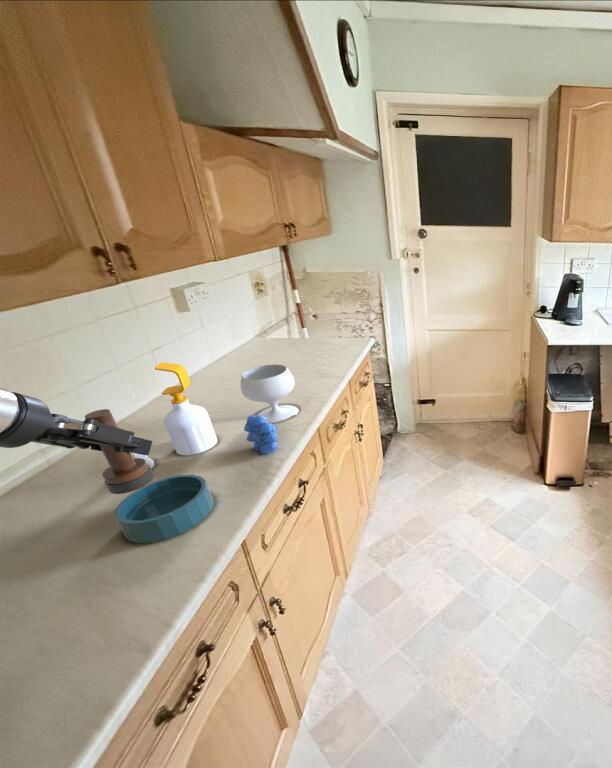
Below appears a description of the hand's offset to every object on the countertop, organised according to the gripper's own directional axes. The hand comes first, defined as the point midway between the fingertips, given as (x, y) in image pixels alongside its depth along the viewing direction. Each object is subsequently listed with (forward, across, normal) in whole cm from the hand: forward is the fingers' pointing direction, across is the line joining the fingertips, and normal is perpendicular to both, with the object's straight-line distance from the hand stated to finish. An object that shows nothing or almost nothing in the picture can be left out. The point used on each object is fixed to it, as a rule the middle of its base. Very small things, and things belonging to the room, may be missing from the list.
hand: (137, 448), depth 76 cm
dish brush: (+1, 0, -6) cm, 6 cm away
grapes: (+30, +8, +4) cm, 32 cm away
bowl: (+13, 0, -13) cm, 18 cm away
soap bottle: (+32, -12, +6) cm, 35 cm away
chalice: (+44, +1, +18) cm, 48 cm away
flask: (+25, -20, -1) cm, 32 cm away
